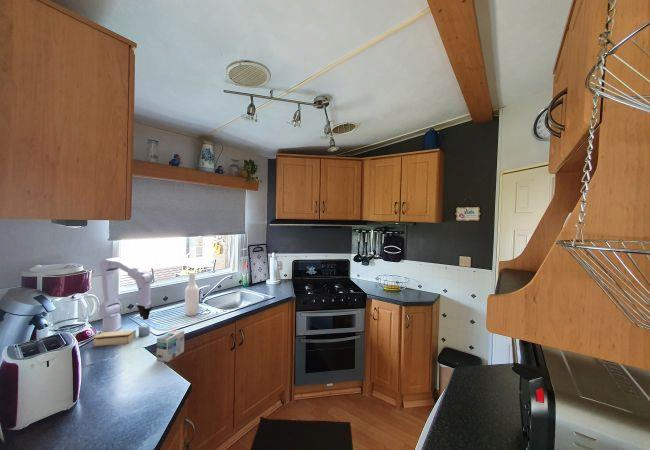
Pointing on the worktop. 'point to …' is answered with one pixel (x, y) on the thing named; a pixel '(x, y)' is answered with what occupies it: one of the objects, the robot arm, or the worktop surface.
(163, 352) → the light bulb box
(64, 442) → the worktop surface
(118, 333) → the lid
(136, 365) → the worktop surface
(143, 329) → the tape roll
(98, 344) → the box
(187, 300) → the alcohol
